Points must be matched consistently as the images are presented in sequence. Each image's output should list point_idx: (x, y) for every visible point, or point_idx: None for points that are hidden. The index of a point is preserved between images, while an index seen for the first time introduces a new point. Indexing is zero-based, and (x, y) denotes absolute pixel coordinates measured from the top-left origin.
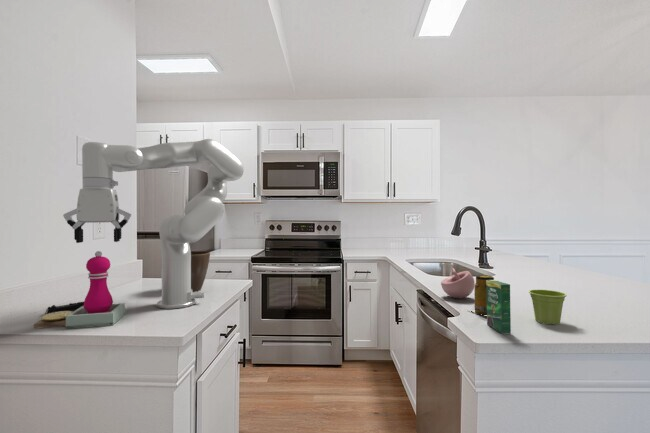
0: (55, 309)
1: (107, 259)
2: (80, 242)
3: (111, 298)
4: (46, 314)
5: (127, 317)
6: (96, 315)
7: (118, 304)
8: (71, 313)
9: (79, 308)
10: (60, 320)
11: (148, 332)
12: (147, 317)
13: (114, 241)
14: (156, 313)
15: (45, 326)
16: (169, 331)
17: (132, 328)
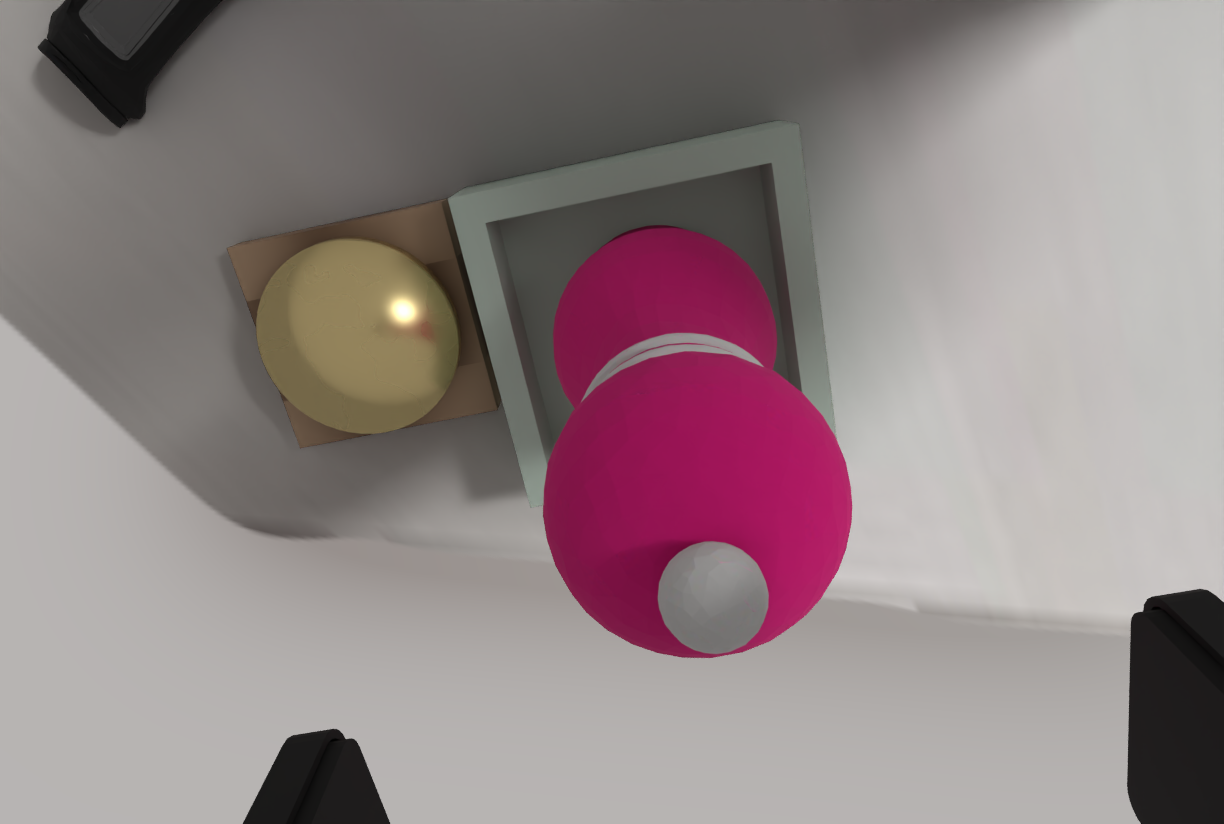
0: (142, 84)
1: (840, 535)
2: (374, 812)
3: (775, 332)
4: (265, 336)
5: (842, 224)
6: None
7: (757, 164)
8: (520, 438)
9: (480, 290)
10: None
11: (1094, 569)
12: (1005, 239)
13: (1134, 789)
14: (1053, 117)
15: None
16: (1219, 562)
17: (972, 490)
